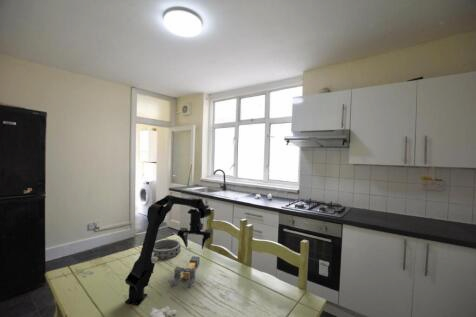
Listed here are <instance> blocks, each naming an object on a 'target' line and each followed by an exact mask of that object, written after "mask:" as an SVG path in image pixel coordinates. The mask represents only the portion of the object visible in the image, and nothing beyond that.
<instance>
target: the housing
mask: <svg viewBox="0 0 476 317" xmlns="http://www.w3.org/2000/svg"><path fill="white" fill-rule="evenodd" d="M196 269H197V268H195V269H190V268H187V267H181V266H180V267H178V266H176V267H175V269H174V270H173V272H174V273H173V274H174V275H173V276H172V278H171V279H170V285H171V286H177V284H178V282H179V281H180V279H181V273H183V272H189V273H190V277H189V279H187V280H186V287H187V288H192V286H193V285H194V283H195V281H196V272H197V271H196Z"/></svg>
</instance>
